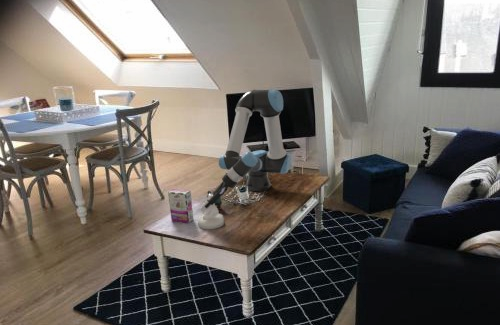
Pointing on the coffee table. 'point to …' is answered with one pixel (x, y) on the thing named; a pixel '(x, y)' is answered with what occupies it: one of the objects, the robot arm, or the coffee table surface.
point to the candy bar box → (180, 205)
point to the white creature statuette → (210, 210)
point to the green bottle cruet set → (217, 202)
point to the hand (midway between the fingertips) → (202, 209)
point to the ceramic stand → (211, 222)
